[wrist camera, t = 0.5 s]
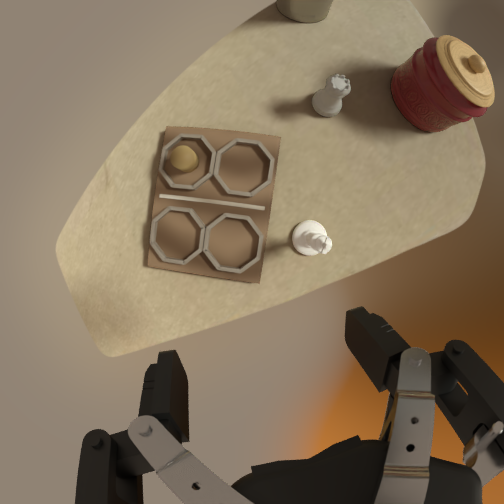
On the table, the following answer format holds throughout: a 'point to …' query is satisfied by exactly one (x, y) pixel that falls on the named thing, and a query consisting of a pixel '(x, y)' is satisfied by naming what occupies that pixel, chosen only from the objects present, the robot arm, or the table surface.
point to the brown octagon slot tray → (213, 202)
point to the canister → (442, 85)
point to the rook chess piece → (331, 96)
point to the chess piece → (311, 238)
